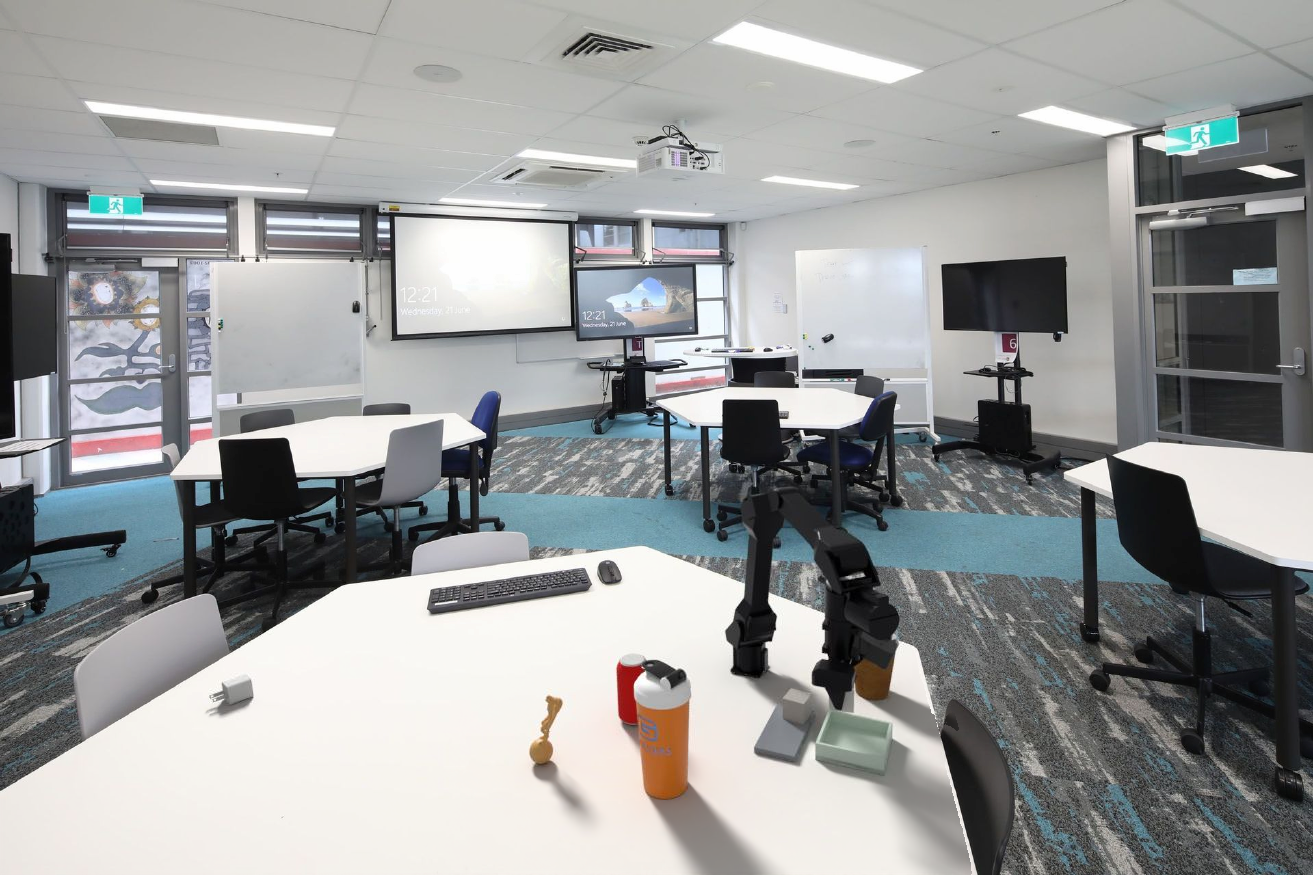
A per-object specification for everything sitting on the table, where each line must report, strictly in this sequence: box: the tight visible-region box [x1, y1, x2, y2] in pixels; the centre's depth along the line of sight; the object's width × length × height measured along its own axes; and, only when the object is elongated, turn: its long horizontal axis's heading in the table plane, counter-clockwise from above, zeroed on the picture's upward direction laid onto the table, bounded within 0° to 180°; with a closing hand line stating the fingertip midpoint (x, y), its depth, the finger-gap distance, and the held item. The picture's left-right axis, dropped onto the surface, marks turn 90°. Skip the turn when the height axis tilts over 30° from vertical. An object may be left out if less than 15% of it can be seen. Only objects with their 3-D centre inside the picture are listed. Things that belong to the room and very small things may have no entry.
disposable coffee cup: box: [854, 632, 900, 701], centre depth 137 cm, size 10×10×12 cm
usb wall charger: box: [208, 673, 255, 706], centre depth 142 cm, size 4×7×4 cm, turn 137°
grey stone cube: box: [782, 688, 813, 725], centre depth 128 cm, size 4×4×4 cm
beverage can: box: [615, 653, 647, 726], centre depth 130 cm, size 6×6×12 cm
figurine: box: [528, 694, 563, 765], centre depth 118 cm, size 8×6×12 cm
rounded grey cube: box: [828, 685, 855, 714], centre depth 118 cm, size 4×4×4 cm
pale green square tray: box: [814, 709, 894, 776], centre depth 120 cm, size 11×11×3 cm
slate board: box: [753, 702, 815, 763], centre depth 125 cm, size 7×15×1 cm, turn 155°
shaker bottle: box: [634, 659, 692, 800], centre depth 111 cm, size 9×9×20 cm
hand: (841, 702), depth 118 cm, fingers closed on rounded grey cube, 4 cm apart
